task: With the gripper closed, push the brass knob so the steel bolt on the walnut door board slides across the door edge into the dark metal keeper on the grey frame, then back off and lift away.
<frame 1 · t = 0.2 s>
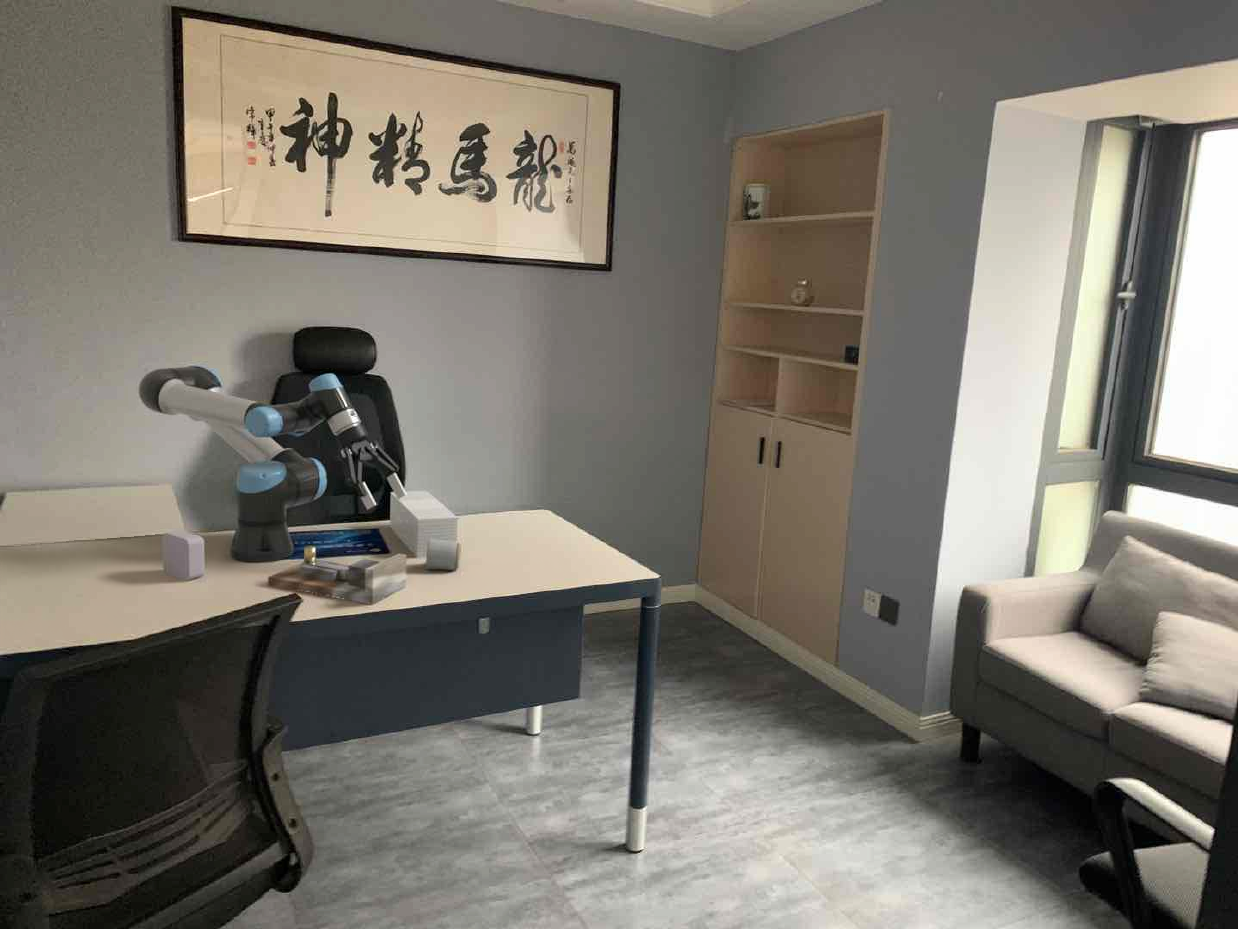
hand: (387, 502, 236), 15 cm above the table, tool tilted 35°, fingers open, 13 cm apart
stack of papers: (421, 541, 257), on the table
bolt: (326, 562, 215), point 5 cm above the table, slide at 0.0 cm
electronic device: (185, 575, 216), on the table
ceramic mug: (442, 568, 235), on the table
lock board: (337, 586, 215), on the table
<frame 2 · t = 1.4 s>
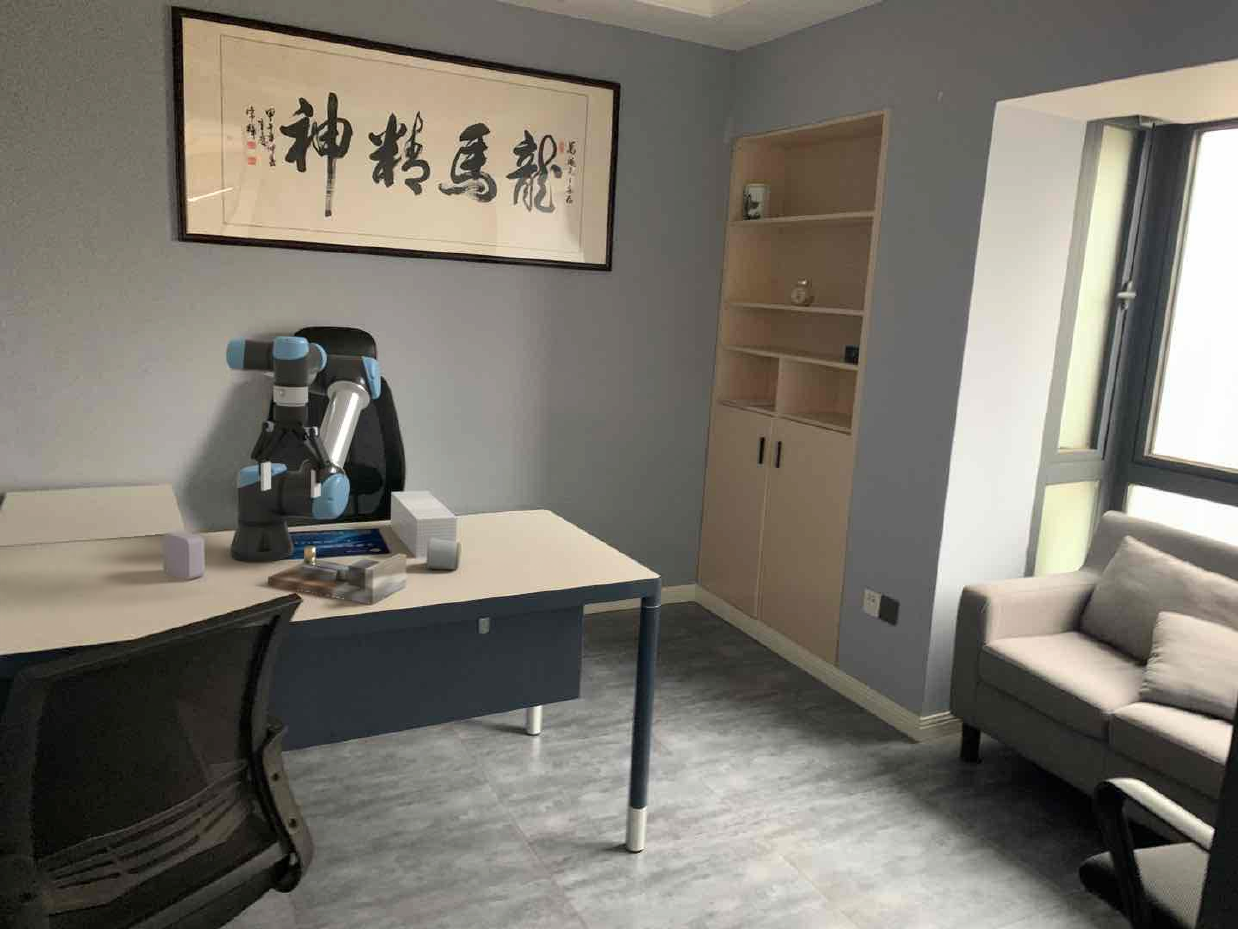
hand: (290, 493, 216), 21 cm above the table, tool pointing down, fingers open, 13 cm apart
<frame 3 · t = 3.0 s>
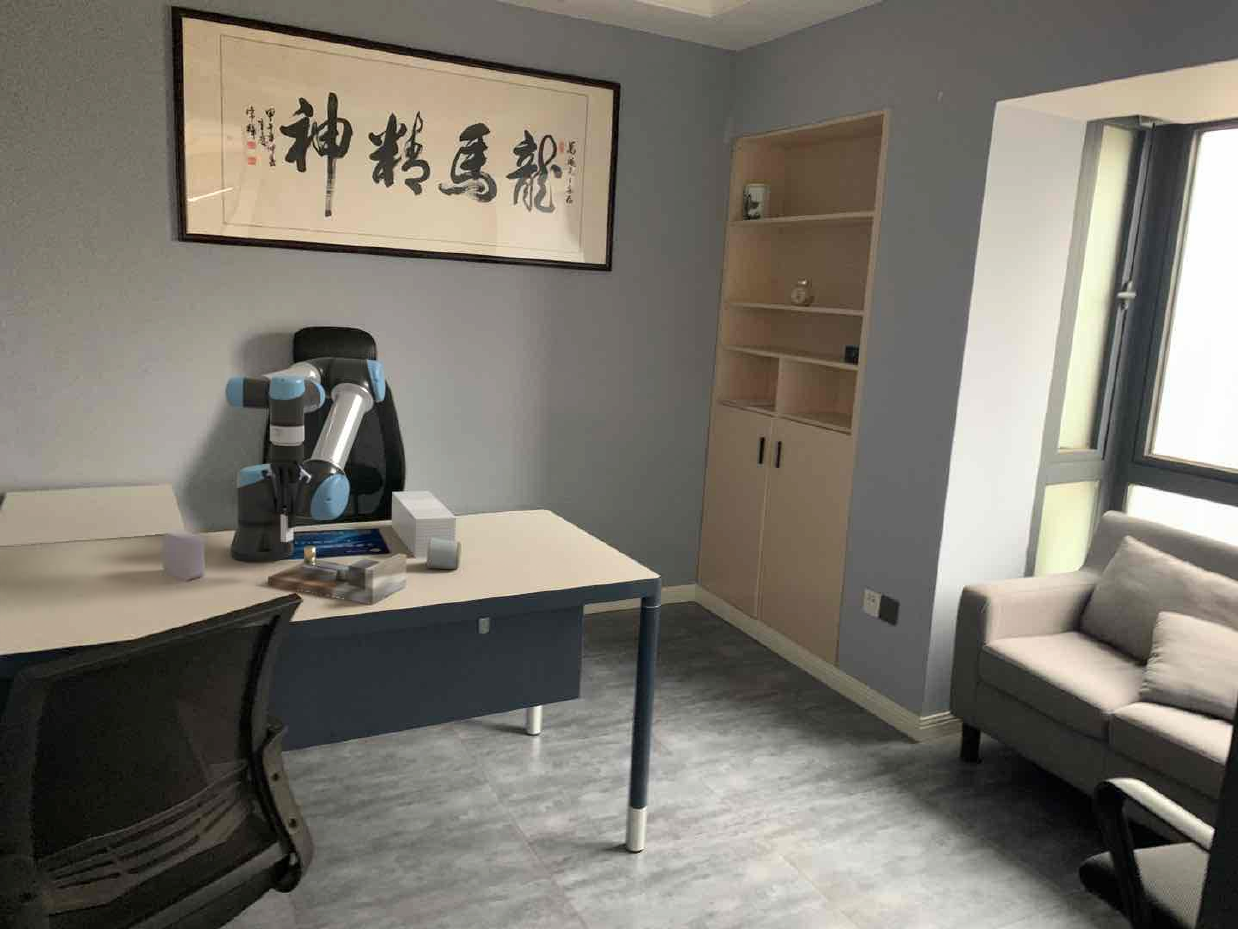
hand: (287, 540, 217), 9 cm above the table, tool pointing down, fingers closed
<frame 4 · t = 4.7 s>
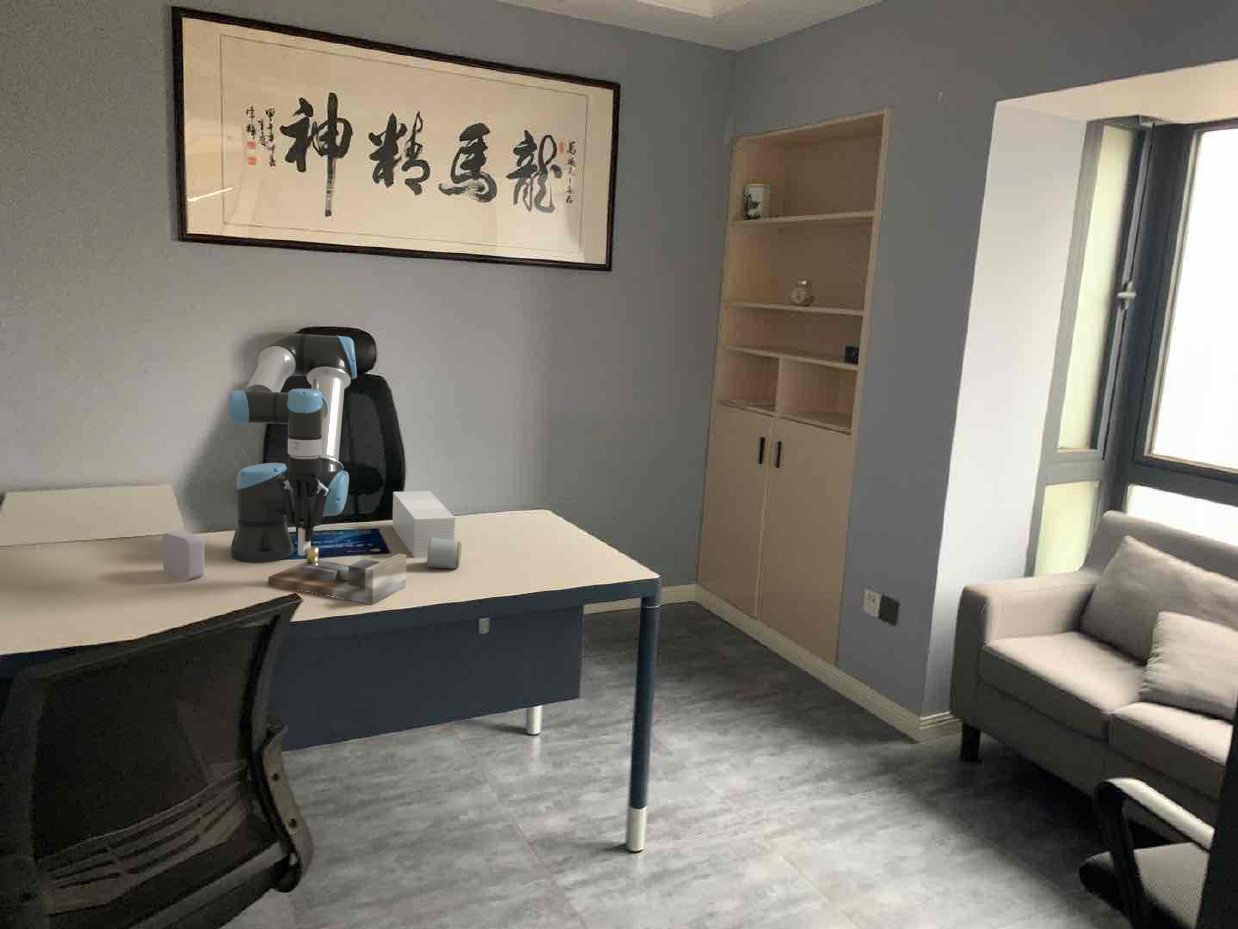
hand: (304, 553, 216), 7 cm above the table, tool pointing down, fingers closed
bolt: (329, 563, 215), point 5 cm above the table, slide at 0.8 cm, touching gripper
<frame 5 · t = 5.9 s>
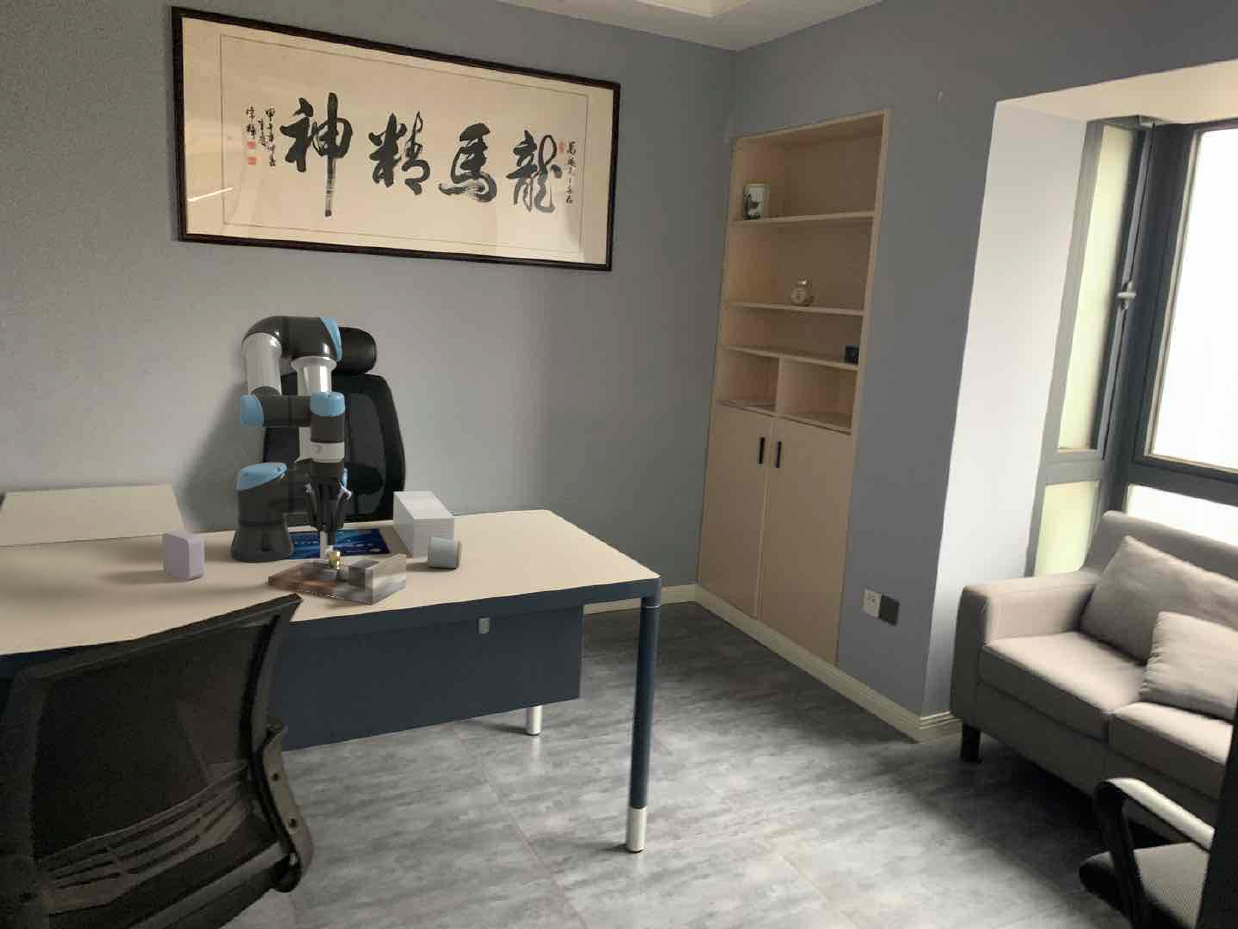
hand: (326, 557, 214), 7 cm above the table, tool pointing down, fingers closed
bolt: (351, 566, 213), point 5 cm above the table, slide at 6.7 cm, touching gripper
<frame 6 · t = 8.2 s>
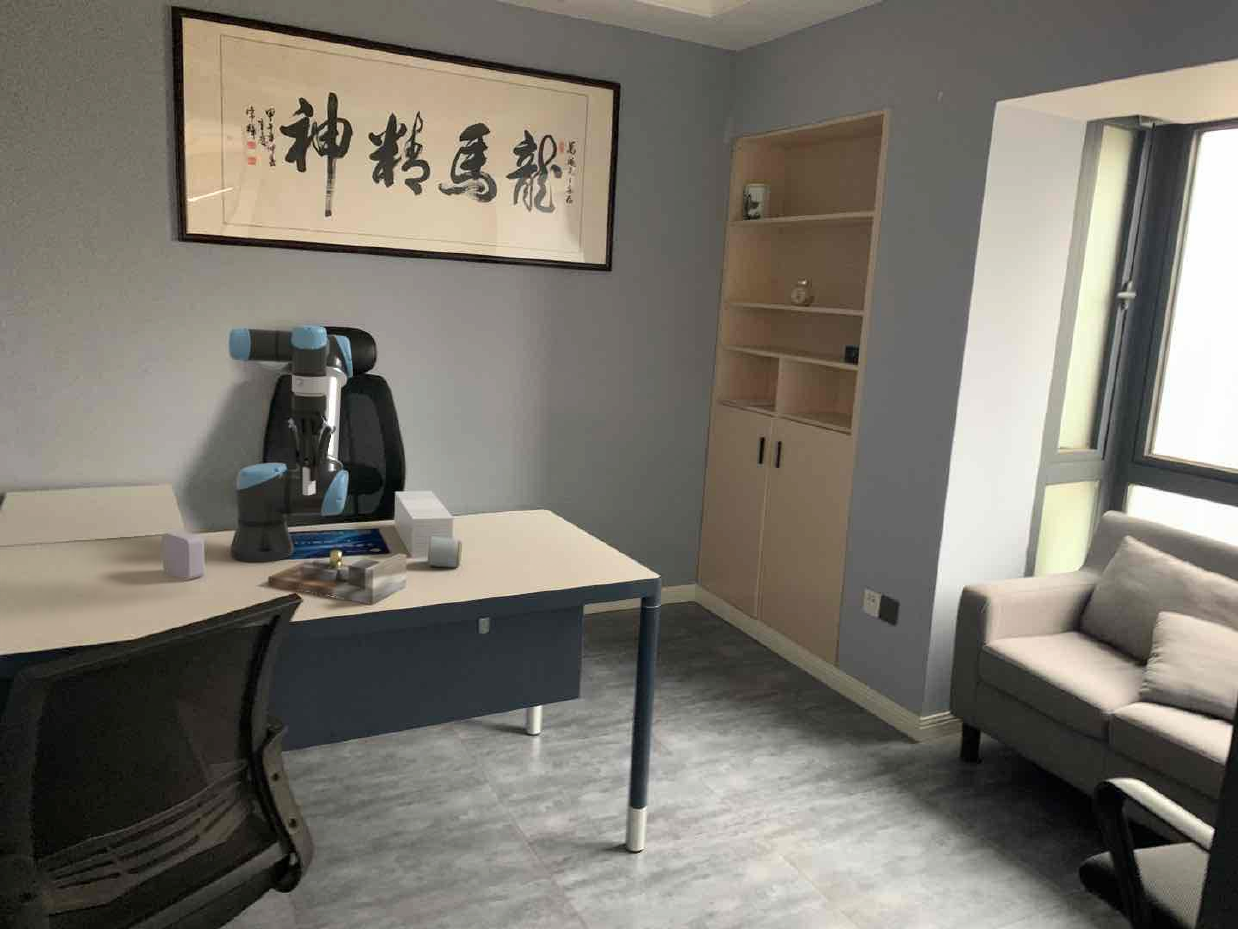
hand: (309, 493, 214), 21 cm above the table, tool pointing down, fingers closed
bolt: (353, 567, 213), point 5 cm above the table, slide at 7.2 cm
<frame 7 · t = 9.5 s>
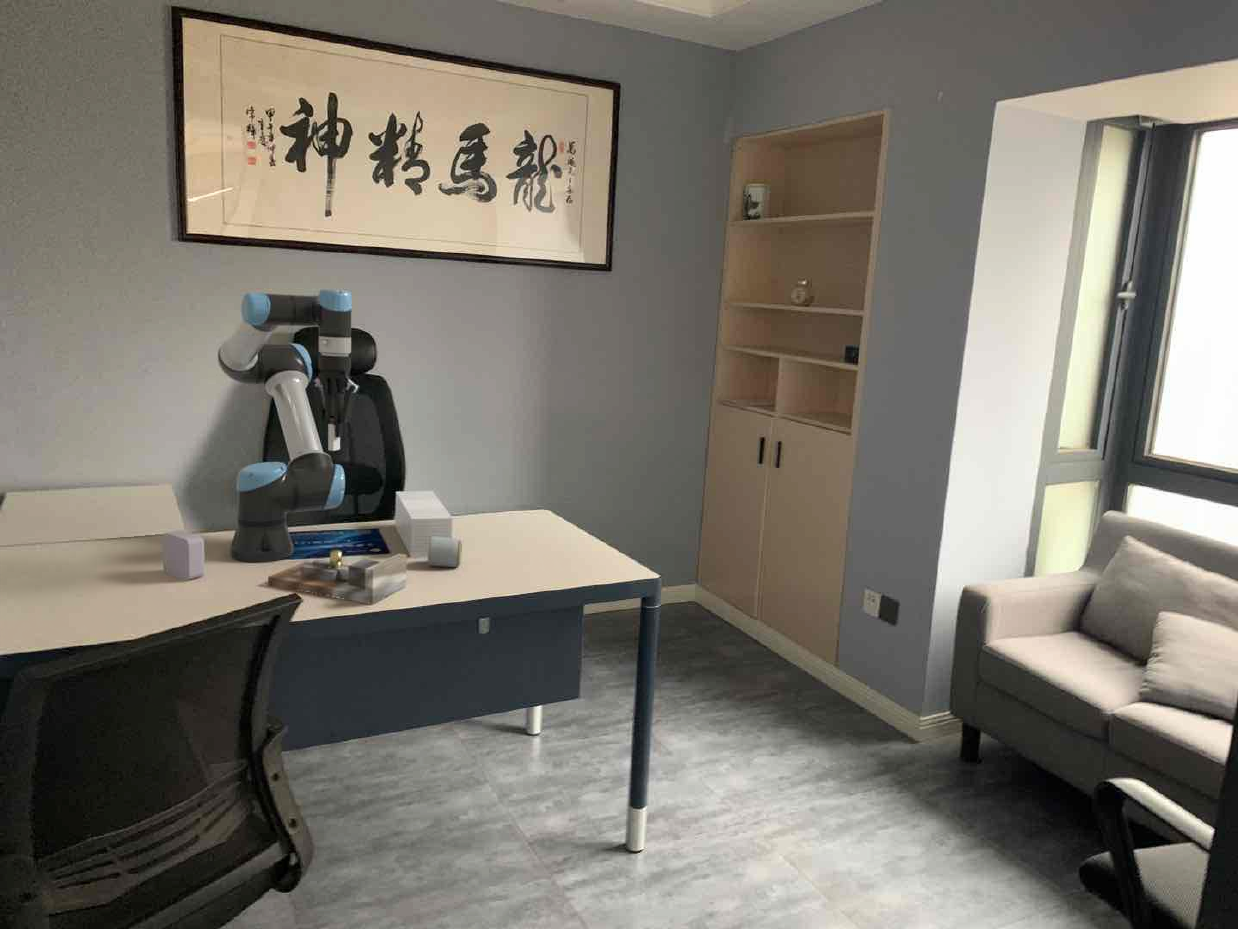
hand: (334, 449, 226), 29 cm above the table, tool pointing down, fingers closed
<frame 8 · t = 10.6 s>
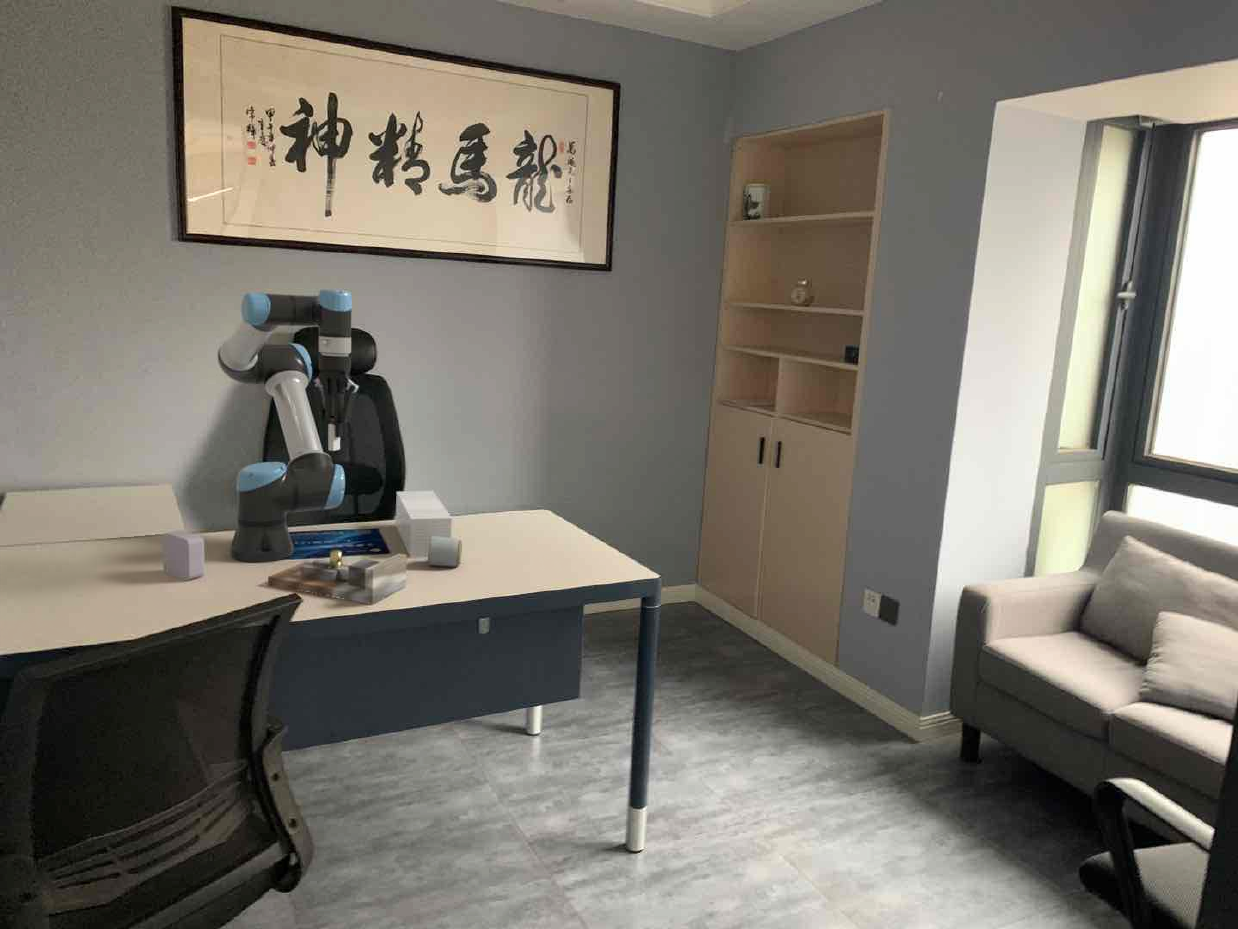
hand: (334, 449, 226), 29 cm above the table, tool pointing down, fingers closed
at the end: bolt slide at 7.2 cm; the gripper is holding nothing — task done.
